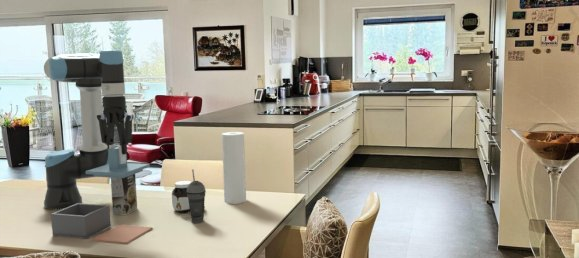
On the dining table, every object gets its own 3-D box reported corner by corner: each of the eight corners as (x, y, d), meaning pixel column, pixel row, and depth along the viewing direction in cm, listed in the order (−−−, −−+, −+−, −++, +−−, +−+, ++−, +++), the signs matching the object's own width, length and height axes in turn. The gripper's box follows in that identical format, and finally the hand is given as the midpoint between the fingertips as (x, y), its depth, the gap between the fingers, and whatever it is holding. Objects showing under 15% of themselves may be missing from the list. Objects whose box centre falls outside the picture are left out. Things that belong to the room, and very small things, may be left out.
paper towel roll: (220, 202, 221) (217, 133, 217) (230, 197, 229) (228, 130, 226) (239, 204, 217) (237, 134, 213) (249, 198, 226) (247, 131, 222)
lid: (86, 177, 174) (83, 150, 173) (113, 168, 189) (111, 143, 187) (124, 179, 170) (123, 152, 169) (150, 170, 184) (148, 144, 183)
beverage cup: (198, 225, 191) (195, 172, 188) (183, 222, 195) (181, 170, 192) (211, 219, 197) (208, 168, 194) (196, 217, 201) (194, 166, 198)
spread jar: (169, 210, 211) (168, 182, 209) (192, 204, 219) (190, 177, 218) (187, 216, 203) (185, 187, 201) (209, 209, 211) (208, 181, 210)
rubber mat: (91, 240, 177) (91, 238, 177) (119, 226, 192) (119, 224, 192) (126, 243, 173) (126, 242, 173) (152, 228, 188) (152, 227, 188)
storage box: (52, 235, 183) (50, 213, 181) (79, 223, 196) (77, 203, 195) (86, 238, 178) (84, 216, 177) (110, 226, 192) (109, 205, 191)
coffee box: (127, 215, 206) (124, 175, 203) (112, 214, 207) (109, 175, 205) (138, 208, 214) (135, 170, 212) (123, 208, 216) (121, 170, 214)
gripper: (86, 96, 175) (91, 164, 178) (127, 96, 170) (132, 166, 173) (100, 95, 182) (105, 160, 185) (140, 94, 177) (144, 162, 180)
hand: (118, 163), depth 179 cm, fingers closed on lid, 3 cm apart
